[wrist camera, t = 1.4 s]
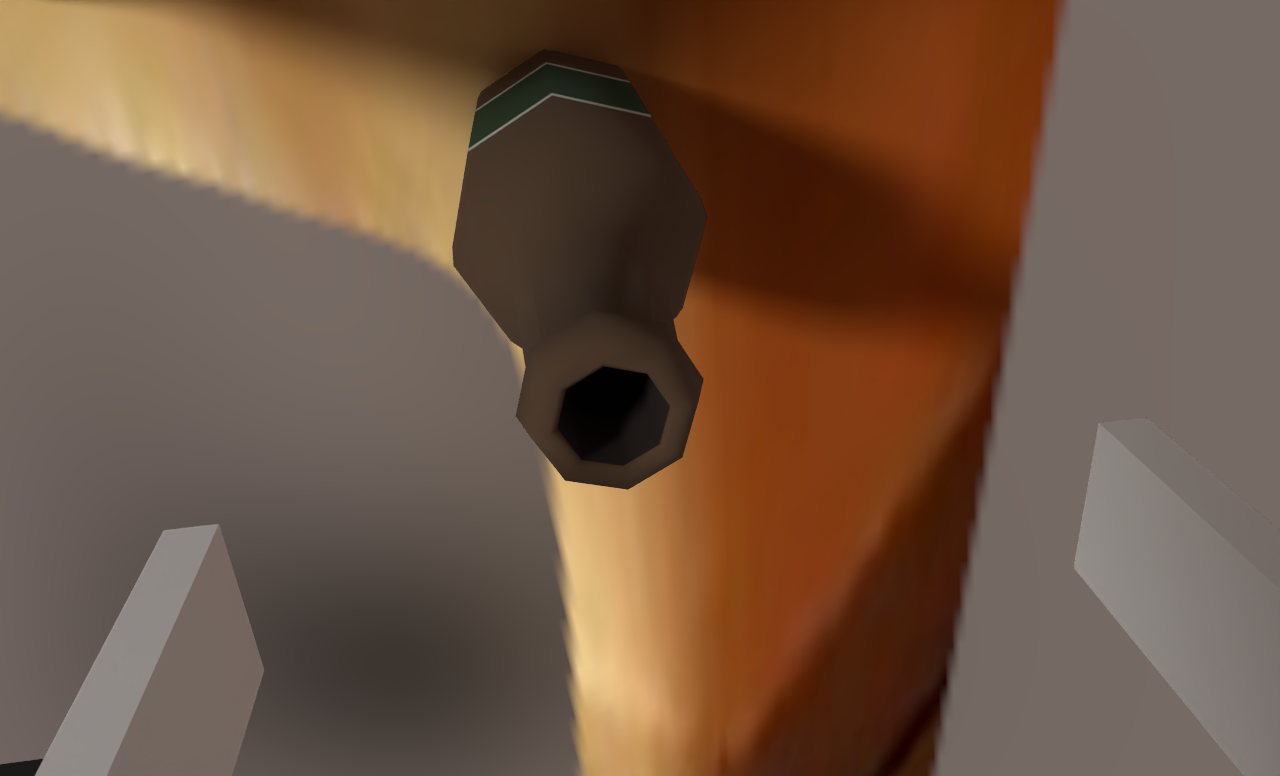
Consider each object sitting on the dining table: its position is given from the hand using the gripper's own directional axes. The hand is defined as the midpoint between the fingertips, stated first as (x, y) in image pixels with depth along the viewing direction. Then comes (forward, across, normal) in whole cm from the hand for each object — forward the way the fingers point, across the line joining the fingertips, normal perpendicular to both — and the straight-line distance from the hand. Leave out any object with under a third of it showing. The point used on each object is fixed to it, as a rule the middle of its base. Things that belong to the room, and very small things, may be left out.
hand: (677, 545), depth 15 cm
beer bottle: (+29, 0, -1) cm, 29 cm away
